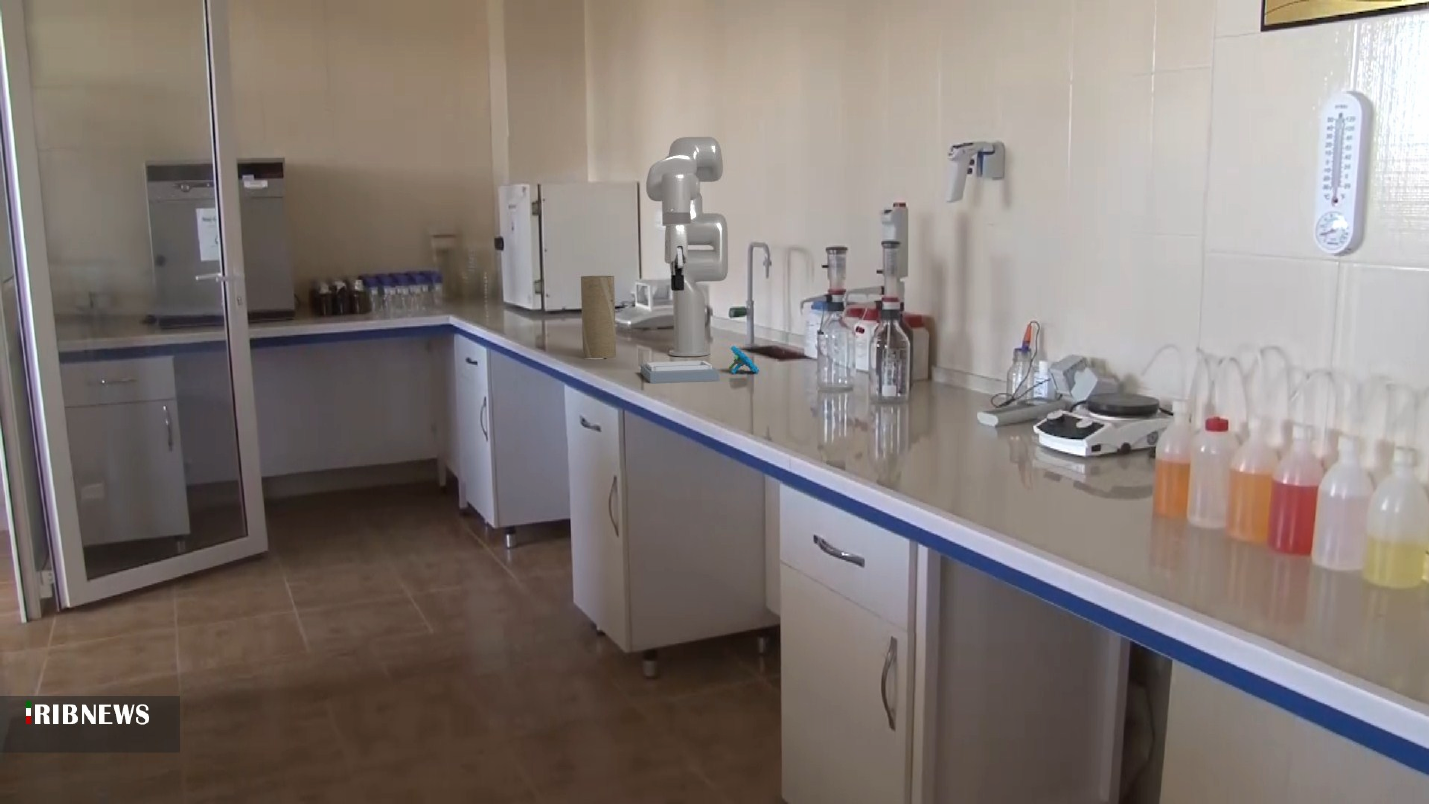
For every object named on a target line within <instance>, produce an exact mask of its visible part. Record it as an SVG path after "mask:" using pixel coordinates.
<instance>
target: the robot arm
mask: <svg viewBox="0 0 1429 804" xmlns="http://www.w3.org/2000/svg"><path fill="white" fill-rule="evenodd" d="M723 161H724V160H723V154H722V149H721V146H720V143H719V142H718V141H717V140H716V138H714V137H712V136H685V137H684V136H683V137H679V138H677V139H675V140H673V142H672V143H671V145H670V148H669V153H668V155H667V156H666V157H665V158H662V159H661V160H659V161H657V162H655V163H653V164H652V165H651V166H650V168H649V170H648V173H647V177H646V181H645V182H646V183H645V191H646V195H647V197H648V198H649V200H651V201H653V202H661V213H662V214H661V215H662V216H661V218H662V219H661V222H662V225H661V226H663V227H664V226H665V231H664V232H665V233H664V263H666V264H669V271H670V289H671V291H672V298H673V299H672V300H673V301H672V302H673V303H672V304H673V310H672V311H673V349H670V350H669V351H668V355H669V356H673V357H702V356H703V357H704V356H709V355H710V354H711V350H710V349H706V303H705V302H706V300H705V299H706V298H705V294H704V292H703V291H702V289H700V287H699V286H698V285H697V283H698V282H722V281H725V280H726V279H727V276H728V272H729V243H728V242H729V237H728V235H729V234H728V222H727V220H726V218H725V216H724V215H723V214H721V213H714V212H713V213H712V212H710V213H709V212H708V213H707V212H705V213H704V212H703V196H702V194H701V193H700V192H701V183H705V182H707V183H713V182H718V181H719V180H720V179H721V178H722V177H723V172H724V162H723ZM688 246H711V247H712V248H713V249H688Z"/></svg>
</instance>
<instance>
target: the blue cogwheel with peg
mask: <svg viewBox="0 0 1429 804" xmlns="http://www.w3.org/2000/svg"><path fill="white" fill-rule="evenodd" d="M730 350H731V351H732V353H733V354H734V355H735V356H734V357H733V358H734V359H733V363H731V365H730V366H729V367H728V369H729V370H731V373H732V374H733V375H734V374H735V373H736V372H737V371H738V370H739V369H740V368H741V367H743V366H745V367H747V368H749V370H751V371H752V372H753V373H755V374H758V373H759V372H760V370H759V367H758V366H757V365H756V364H754V363H753V361H752V359H751V358H749V356H747V355H746V354H745V353H744V352H742V351H741V349H739V348H738V347H736V346H734V345H732V346H731V348H730Z"/></svg>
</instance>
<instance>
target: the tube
mask: <svg viewBox="0 0 1429 804" xmlns="http://www.w3.org/2000/svg"><path fill="white" fill-rule="evenodd" d="M615 294H616V293H615V275H584V276H583V275H582V276H580V296H581V298H580V299H581V328H582V332H581V333H582V358H583V357H584V358H610V359H614V358H613V357H615V356H616V357H617V349H616V348H617V346H616V345H617V344H616V343H617V341H616V340H617V337H616V304H615V303H616V302H615V301H616V300H615V299H616V298H615V296H616V295H615ZM616 357H615V358H616ZM584 358H583V359H584Z"/></svg>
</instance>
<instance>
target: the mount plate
mask: <svg viewBox="0 0 1429 804" xmlns="http://www.w3.org/2000/svg"><path fill="white" fill-rule="evenodd" d="M640 374H641V375H642V376H643V377H644V378H645V380H647V382H648V383H650V384H660V383H661V384H663V383H664V384H665V383H689V382H690V383H691V382H692V383H693V382H697V383H698V382H719V381H720V370H718V369H716V368H715V367H714V366H713V365H712V364H710V363H709V362H708V361H706V360H687V361H685V360H684V361H682V360H681V361H654V362H653V361H652V362H650V361H649V362H645V364H644V363H643V364H640Z"/></svg>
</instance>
